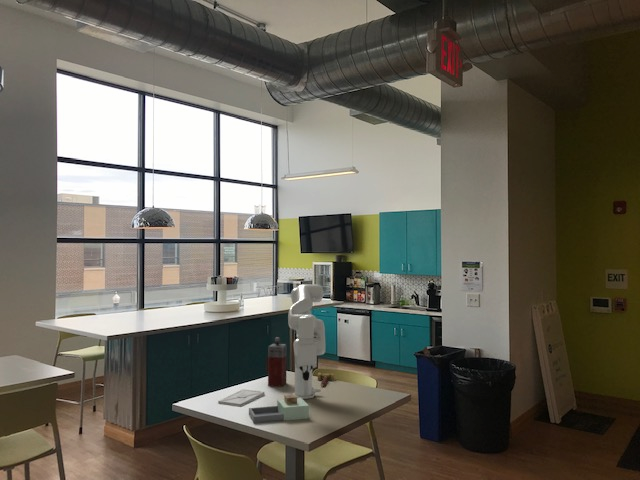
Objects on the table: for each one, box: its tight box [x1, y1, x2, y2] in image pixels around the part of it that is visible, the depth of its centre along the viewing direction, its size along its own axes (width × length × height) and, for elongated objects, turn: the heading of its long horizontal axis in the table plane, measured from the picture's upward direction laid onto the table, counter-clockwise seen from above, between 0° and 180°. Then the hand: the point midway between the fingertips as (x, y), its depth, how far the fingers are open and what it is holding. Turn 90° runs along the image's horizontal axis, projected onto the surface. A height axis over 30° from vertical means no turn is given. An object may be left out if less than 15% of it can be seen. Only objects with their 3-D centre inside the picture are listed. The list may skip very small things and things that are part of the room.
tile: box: [283, 394, 297, 404], centre depth 249 cm, size 5×5×3 cm
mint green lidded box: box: [276, 398, 310, 422], centre depth 249 cm, size 12×14×6 cm
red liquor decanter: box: [265, 336, 288, 388], centre depth 309 cm, size 9×11×28 cm
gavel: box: [317, 372, 335, 388], centre depth 312 cm, size 21×5×10 cm
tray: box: [248, 405, 285, 424], centre depth 245 cm, size 14×14×3 cm
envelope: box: [217, 388, 265, 407], centre depth 277 cm, size 24×2×14 cm
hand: (305, 380), depth 251 cm, fingers closed
